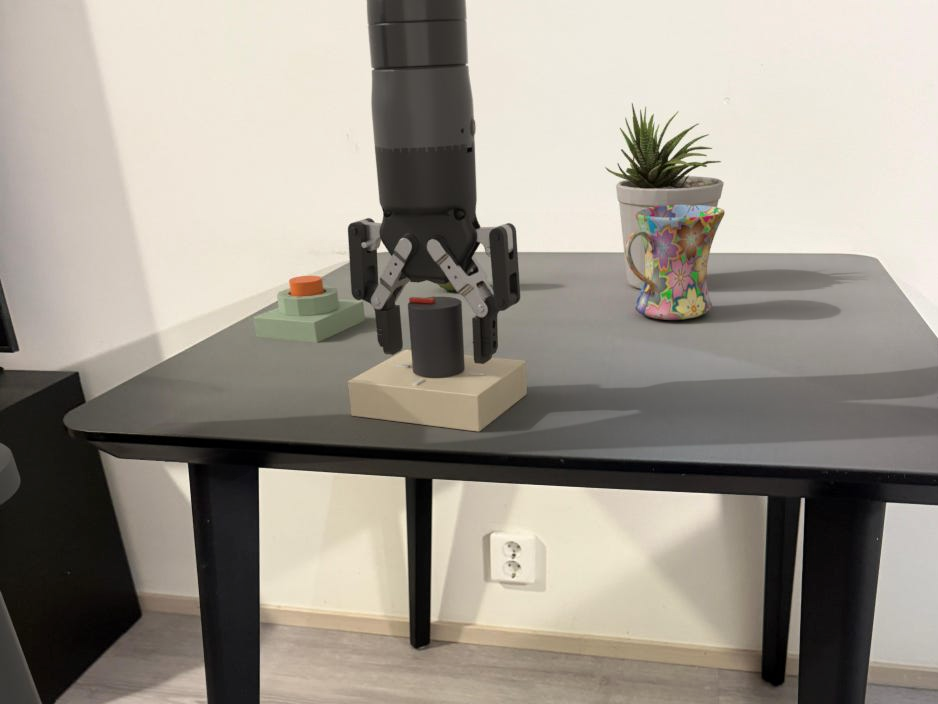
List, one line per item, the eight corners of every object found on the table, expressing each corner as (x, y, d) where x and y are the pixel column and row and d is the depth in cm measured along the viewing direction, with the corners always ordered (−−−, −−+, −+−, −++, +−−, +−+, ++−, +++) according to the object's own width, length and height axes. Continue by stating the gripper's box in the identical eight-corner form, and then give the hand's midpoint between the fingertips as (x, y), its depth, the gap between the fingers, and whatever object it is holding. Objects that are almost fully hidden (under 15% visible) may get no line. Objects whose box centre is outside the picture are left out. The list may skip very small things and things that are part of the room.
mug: (672, 300, 109) (679, 201, 103) (732, 314, 102) (743, 210, 96) (594, 318, 103) (597, 215, 97) (653, 334, 96) (659, 224, 91)
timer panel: (479, 432, 74) (477, 393, 72) (351, 416, 78) (347, 379, 77) (527, 394, 81) (526, 358, 80) (407, 381, 86) (405, 347, 84)
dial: (472, 364, 79) (469, 294, 76) (452, 379, 76) (448, 306, 73) (425, 360, 81) (420, 291, 77) (404, 375, 77) (398, 303, 74)
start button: (312, 300, 100) (310, 283, 99) (284, 298, 101) (282, 281, 100) (330, 293, 103) (328, 276, 102) (303, 291, 104) (301, 274, 103)
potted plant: (643, 269, 124) (652, 97, 113) (733, 281, 116) (752, 97, 105) (584, 286, 117) (588, 104, 106) (676, 300, 109) (690, 104, 98)
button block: (317, 343, 99) (312, 304, 96) (256, 337, 102) (250, 299, 99) (365, 320, 106) (361, 284, 104) (307, 316, 109) (302, 280, 107)
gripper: (316, 143, 69) (342, 362, 77) (490, 143, 63) (496, 377, 72) (368, 134, 74) (386, 339, 83) (531, 133, 69) (533, 352, 78)
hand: (437, 356), depth 78 cm, fingers open, 8 cm apart
